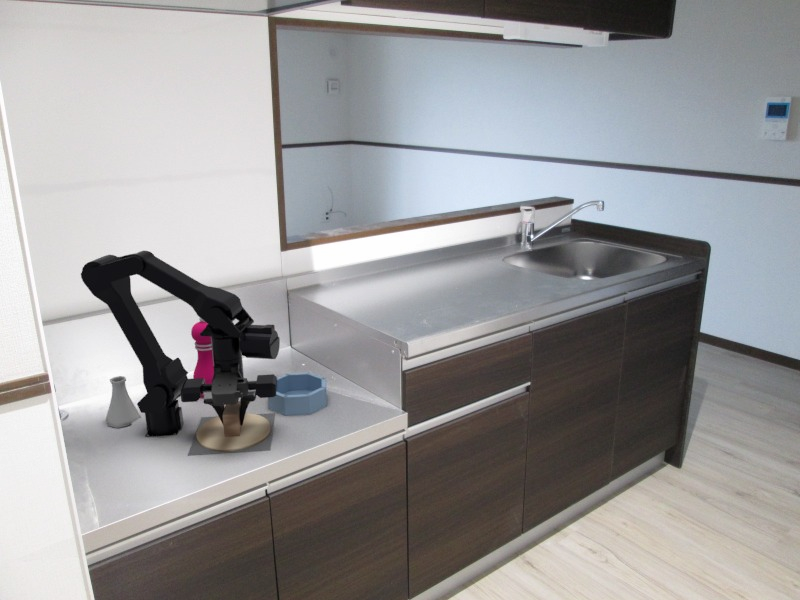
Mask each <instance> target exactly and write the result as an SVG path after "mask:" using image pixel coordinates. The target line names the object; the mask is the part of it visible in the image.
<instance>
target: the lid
mask: <svg viewBox="0 0 800 600" xmlns="http://www.w3.org/2000/svg"><path fill="white" fill-rule="evenodd" d="M224 406H225V408H224V412H223V424H222V422H221V420H220V418H219V417H216V416H215V417H216V418H213V419H211V420H209V421H207V422H206V423H204V424H203V425H202V426H201V427H200V428H199V429H198V431H197V430H196V431H197V434H196V433H195V434H196V435H197V441H198V443H199V444H200V445H201V446H202V447H204V448H206V449H209V450H213V451H221V452H228V451H237V450H242V449H246V448H250V447H252V446H255V445H257V444H259V443H260V442H262V441H263V440H265V439H266V438H267V437H268V435H269V434H270V423H269V421H268V420H267V419H266V418H264V417H262V416H260V415H257V414H258V413H251V412H246V413H245V417H244V421H243V425H242V426H241V425H240V407H241V403H240V400H239V401H238V403H237V404H235V405H230V404H226V405H224ZM223 425H224V426H223Z"/></svg>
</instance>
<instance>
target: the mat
mask: <svg viewBox="0 0 800 600" xmlns="http://www.w3.org/2000/svg"><path fill="white" fill-rule="evenodd" d="M256 414H257V415H260V416H262V417H264V418H266V419H267V420H268V421H269V423H270V434H269V435H268V437H267V438H266V439H265V440H263V441H262V442H260V443H259V444H257V445H255V446H252V447H250V448H246V449H242V450H237V451H228V452H221V451H213V450H209V449H206V448H204V447H202V446H201V445H200V444H199V443H198V441H197V435H196V434H197V431H198V429H199V428H200V427H201V426H202V425H203V424H204V423H206V422H207V421H209V420H211V419H213V418H216V417H219V416H218V415H217V416H205V417H201V418H200V420H199V423H198V426H197V428H196V431H195V434H194V436H193V440H192V443H191V446H190V448H189V451H188V453H187V457H189V456H190V457H191V456H206V455H219V454H220V455H221V454H235V453H237V454H239V453H250V452H251V453H252V452H266V451H267V452H268V451H271V450H272V449H271V447H272V441H273V434H274V433H273V432H274V426H275V420H276V419H275V418H276V412H272V413H271V412H270V413H269V412H267V413H256Z"/></svg>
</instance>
